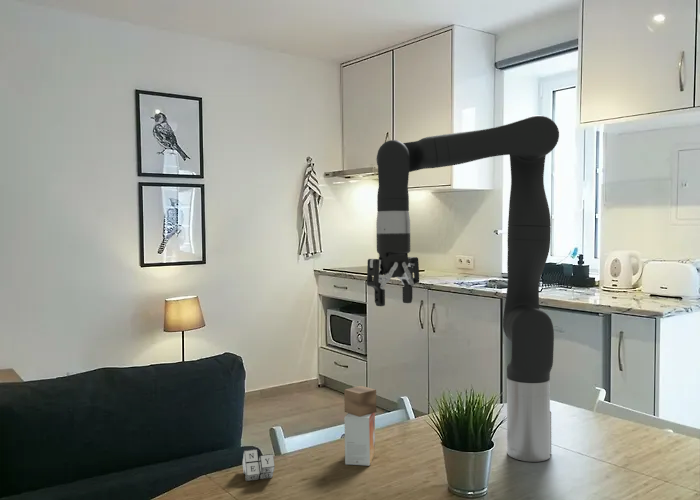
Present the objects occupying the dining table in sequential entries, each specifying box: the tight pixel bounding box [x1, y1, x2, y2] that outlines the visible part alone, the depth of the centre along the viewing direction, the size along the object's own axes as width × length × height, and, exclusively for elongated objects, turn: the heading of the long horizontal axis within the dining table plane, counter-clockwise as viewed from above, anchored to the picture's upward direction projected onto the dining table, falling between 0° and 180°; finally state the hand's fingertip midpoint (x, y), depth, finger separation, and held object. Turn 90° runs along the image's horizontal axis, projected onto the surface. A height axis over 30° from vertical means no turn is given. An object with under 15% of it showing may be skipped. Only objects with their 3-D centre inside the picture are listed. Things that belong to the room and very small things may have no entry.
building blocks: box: [242, 448, 275, 482], centre depth 125 cm, size 5×5×8 cm
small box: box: [343, 412, 376, 467], centre depth 135 cm, size 8×6×10 cm
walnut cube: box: [343, 385, 377, 417], centre depth 135 cm, size 5×5×5 cm
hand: (394, 304), depth 136 cm, fingers open, 8 cm apart
